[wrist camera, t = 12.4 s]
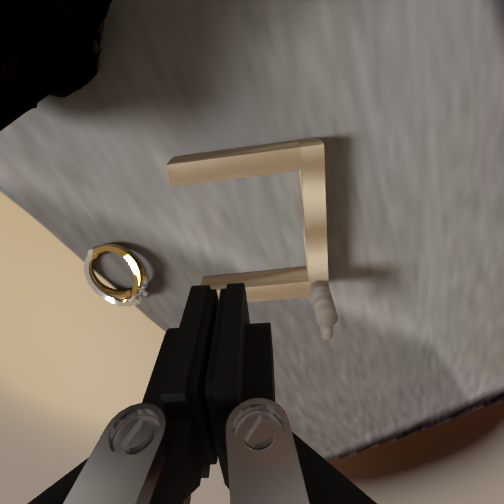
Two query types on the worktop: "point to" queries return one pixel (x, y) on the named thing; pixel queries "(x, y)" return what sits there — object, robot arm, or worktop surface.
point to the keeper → (313, 210)
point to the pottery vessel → (46, 50)
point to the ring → (112, 294)
